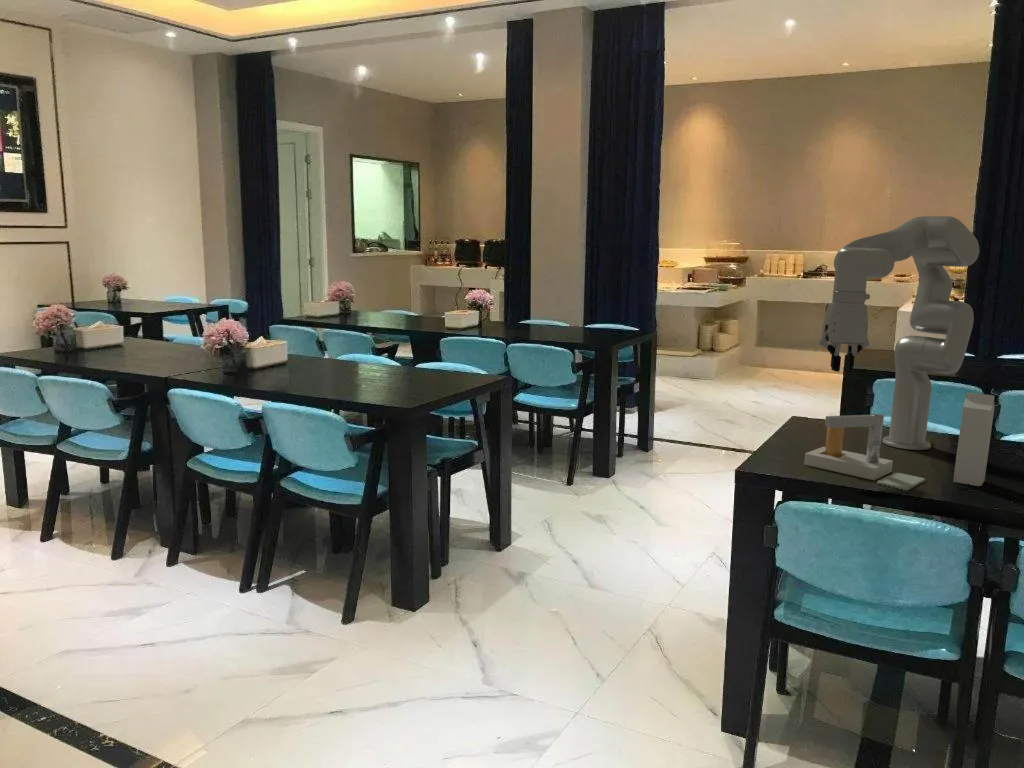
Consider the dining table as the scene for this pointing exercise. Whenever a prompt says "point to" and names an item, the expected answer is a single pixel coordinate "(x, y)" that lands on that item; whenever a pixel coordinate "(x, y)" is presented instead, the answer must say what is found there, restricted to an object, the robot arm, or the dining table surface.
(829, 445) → the tan rectangular bar
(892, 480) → the mat
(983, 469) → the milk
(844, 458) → the gray rectangular base
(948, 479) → the dining table surface
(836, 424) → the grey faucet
